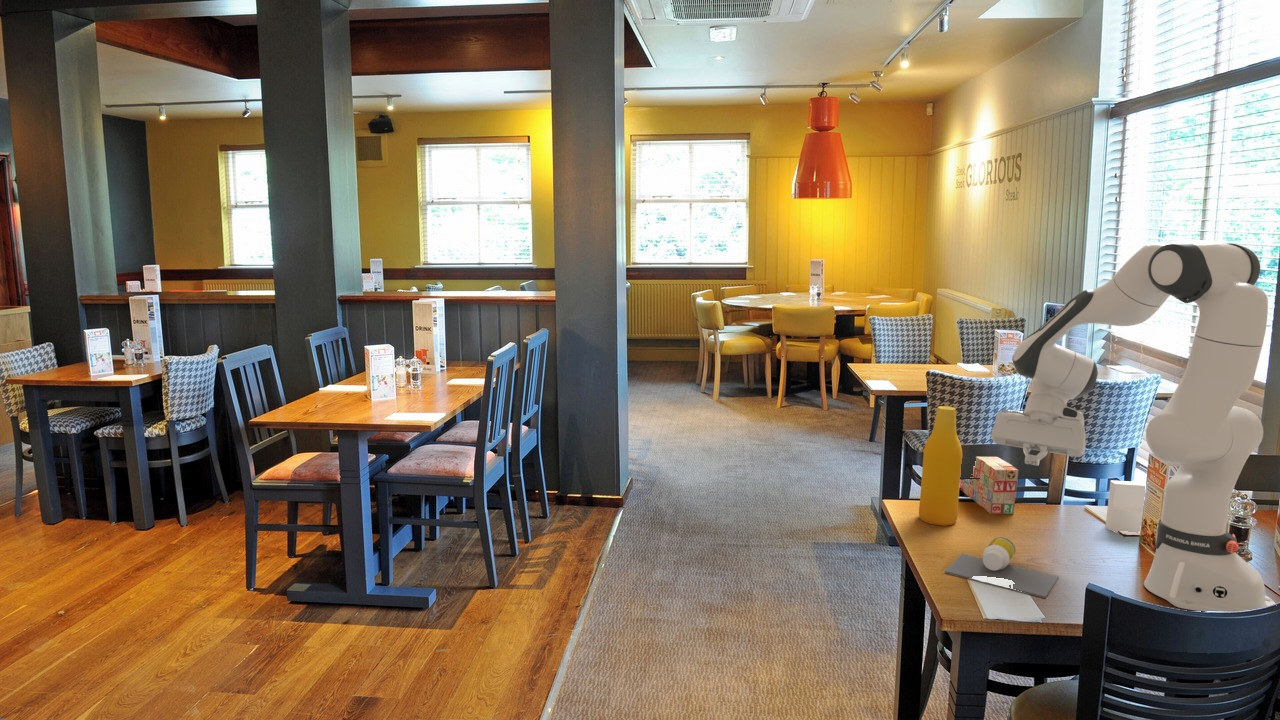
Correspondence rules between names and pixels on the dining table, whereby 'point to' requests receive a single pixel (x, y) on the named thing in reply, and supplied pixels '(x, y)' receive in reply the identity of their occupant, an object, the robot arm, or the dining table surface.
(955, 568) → the charcoal mat
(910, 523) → the dining table surface
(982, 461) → the stack of blocks
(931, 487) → the yellow bottle
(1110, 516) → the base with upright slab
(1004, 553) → the supplement bottle
